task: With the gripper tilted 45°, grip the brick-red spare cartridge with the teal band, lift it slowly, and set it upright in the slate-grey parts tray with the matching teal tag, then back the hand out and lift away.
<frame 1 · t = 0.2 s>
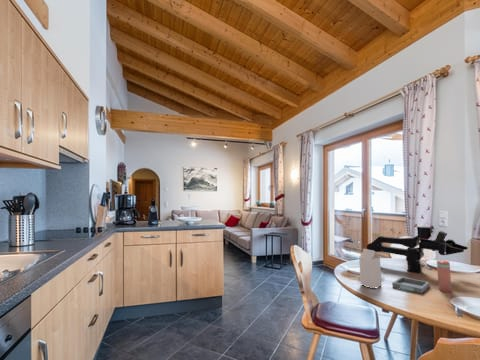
hand: (465, 249, 143), 17 cm above the table, tool horizontal, fingers open, 9 cm apart
parts tray: (411, 287, 135), on the table
milk carton: (371, 286, 138), on the table
spare cartridge: (445, 290, 129), on the table
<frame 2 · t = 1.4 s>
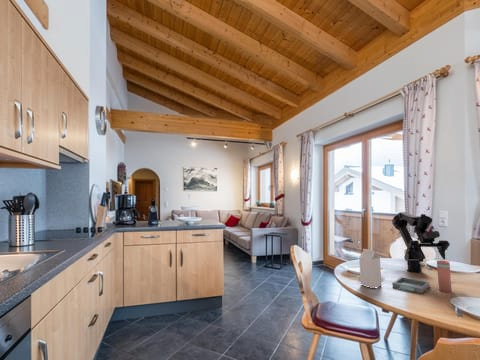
hand: (434, 259, 138), 13 cm above the table, tool tilted 45°, fingers open, 9 cm apart
nothing on the table moved.
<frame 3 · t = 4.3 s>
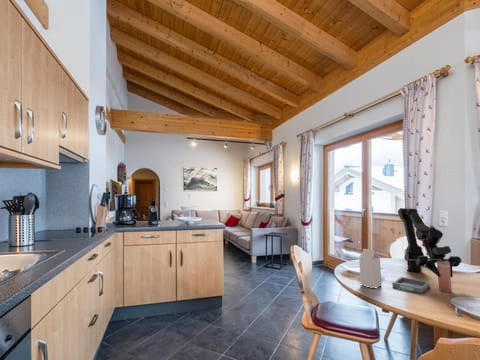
hand: (445, 276, 128), 7 cm above the table, tool tilted 45°, fingers closed on spare cartridge, 5 cm apart
spare cartridge: (445, 290, 129), on the table, touching gripper
everything else where it was.
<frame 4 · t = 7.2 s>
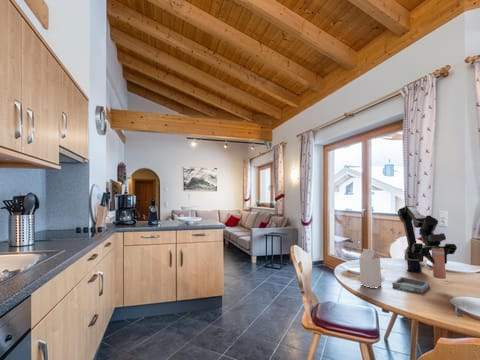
hand: (439, 263, 129), 13 cm above the table, tool tilted 45°, fingers closed on spare cartridge, 5 cm apart
spare cartridge: (439, 277, 130), point 6 cm above the table, touching gripper
everything else where it was.
when the fingers open (9 cm above the table, at t = 9.9 s): spare cartridge drops 1 cm, resting on parts tray.
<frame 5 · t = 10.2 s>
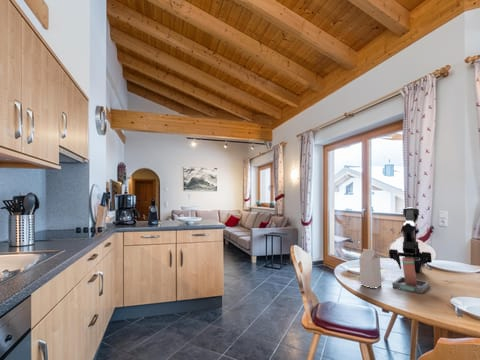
hand: (409, 269, 134), 9 cm above the table, tool tilted 45°, fingers open, 8 cm apart
spare cartridge: (411, 285, 135), point 1 cm above the table, touching parts tray
everything else where it was.
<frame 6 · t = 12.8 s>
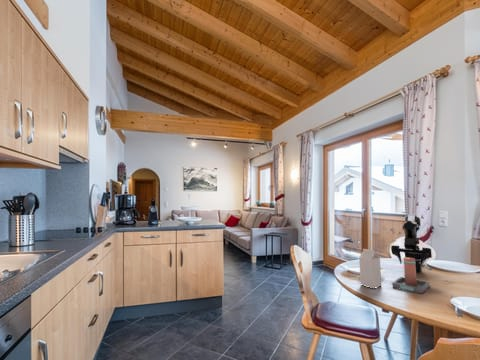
hand: (410, 264, 142), 10 cm above the table, tool tilted 45°, fingers open, 9 cm apart
nothing on the table moved.
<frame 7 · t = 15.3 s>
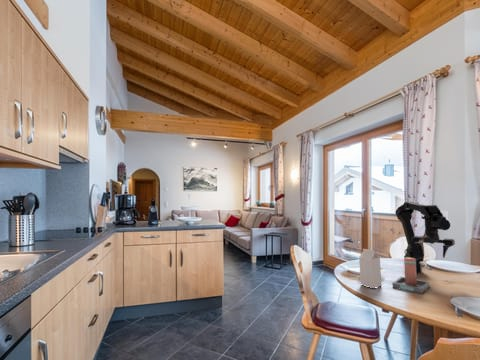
hand: (433, 256, 144), 13 cm above the table, tool pointing down, fingers open, 9 cm apart
nothing on the table moved.
at the end: spare cartridge inside the target area on the parts tray (0.1 cm from its centre), point 0.7 cm above the parts tray's base; spare cartridge tilted 1°; the gripper is holding nothing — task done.
